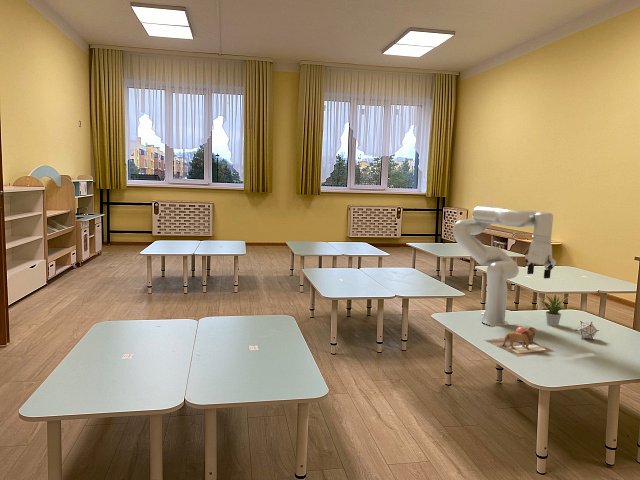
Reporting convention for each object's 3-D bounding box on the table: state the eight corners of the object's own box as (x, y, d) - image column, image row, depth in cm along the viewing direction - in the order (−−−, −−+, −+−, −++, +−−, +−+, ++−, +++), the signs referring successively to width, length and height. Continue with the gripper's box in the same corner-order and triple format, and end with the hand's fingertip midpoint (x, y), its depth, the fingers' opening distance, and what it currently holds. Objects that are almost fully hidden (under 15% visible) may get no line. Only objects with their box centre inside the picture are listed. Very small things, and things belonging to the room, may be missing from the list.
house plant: (558, 320, 248) (561, 289, 246) (575, 328, 235) (579, 296, 232) (532, 320, 246) (535, 289, 244) (549, 329, 233) (552, 296, 230)
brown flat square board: (484, 342, 210) (484, 339, 210) (519, 338, 217) (519, 335, 217) (517, 359, 191) (518, 356, 191) (555, 354, 199) (555, 350, 198)
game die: (586, 345, 222) (596, 327, 223) (594, 344, 214) (605, 326, 215) (568, 334, 224) (579, 316, 225) (576, 333, 215) (587, 315, 217)
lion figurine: (530, 344, 205) (532, 324, 203) (537, 349, 199) (539, 328, 198) (498, 345, 202) (500, 325, 201) (505, 350, 197) (506, 329, 196)
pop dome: (512, 337, 212) (513, 325, 211) (521, 336, 214) (522, 324, 213) (521, 341, 207) (522, 329, 207) (529, 340, 209) (531, 328, 209)
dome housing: (508, 338, 213) (509, 332, 212) (521, 337, 216) (521, 330, 215) (520, 344, 206) (521, 337, 206) (533, 342, 209) (534, 335, 208)
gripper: (521, 237, 223) (518, 272, 225) (550, 242, 207) (547, 280, 209) (533, 236, 226) (530, 272, 228) (563, 241, 210) (559, 279, 212)
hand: (538, 276), depth 219 cm, fingers open, 9 cm apart
